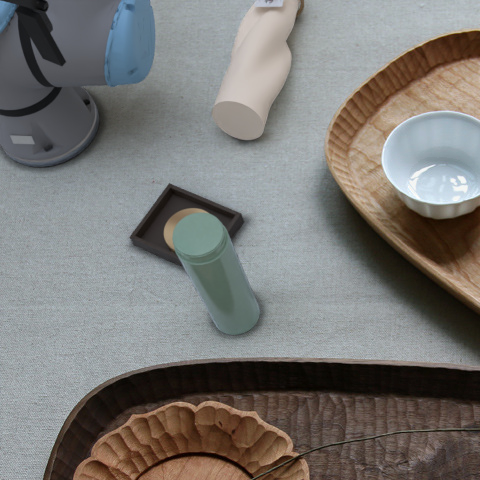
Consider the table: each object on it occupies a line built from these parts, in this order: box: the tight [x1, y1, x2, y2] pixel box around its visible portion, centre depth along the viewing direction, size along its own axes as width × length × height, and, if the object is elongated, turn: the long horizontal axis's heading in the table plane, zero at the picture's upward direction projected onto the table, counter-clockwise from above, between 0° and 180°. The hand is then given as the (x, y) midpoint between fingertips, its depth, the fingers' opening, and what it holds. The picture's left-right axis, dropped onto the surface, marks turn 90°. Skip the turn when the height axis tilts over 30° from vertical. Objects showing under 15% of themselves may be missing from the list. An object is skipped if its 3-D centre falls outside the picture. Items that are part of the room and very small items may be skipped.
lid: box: [164, 208, 209, 254], centre depth 113 cm, size 7×7×2 cm
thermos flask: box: [172, 212, 261, 336], centre depth 101 cm, size 6×6×19 cm
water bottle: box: [211, 0, 305, 141], centre depth 122 cm, size 10×9×28 cm
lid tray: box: [128, 183, 245, 268], centre depth 114 cm, size 12×10×2 cm
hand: (17, 104), depth 88 cm, fingers open, 13 cm apart
